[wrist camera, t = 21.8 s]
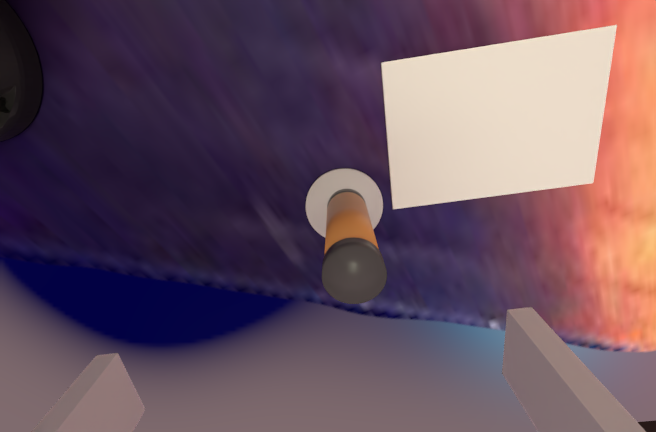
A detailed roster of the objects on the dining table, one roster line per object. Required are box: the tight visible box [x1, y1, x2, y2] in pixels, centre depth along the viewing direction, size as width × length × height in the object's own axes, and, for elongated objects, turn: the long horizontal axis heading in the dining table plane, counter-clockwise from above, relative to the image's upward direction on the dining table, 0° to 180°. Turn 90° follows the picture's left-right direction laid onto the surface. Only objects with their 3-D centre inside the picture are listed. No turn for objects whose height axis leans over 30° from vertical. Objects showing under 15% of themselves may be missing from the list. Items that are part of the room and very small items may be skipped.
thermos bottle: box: [322, 189, 387, 304], centre depth 27 cm, size 4×4×14 cm
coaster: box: [306, 168, 383, 238], centre depth 34 cm, size 8×8×1 cm
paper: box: [381, 25, 617, 209], centre depth 31 cm, size 20×14×1 cm
